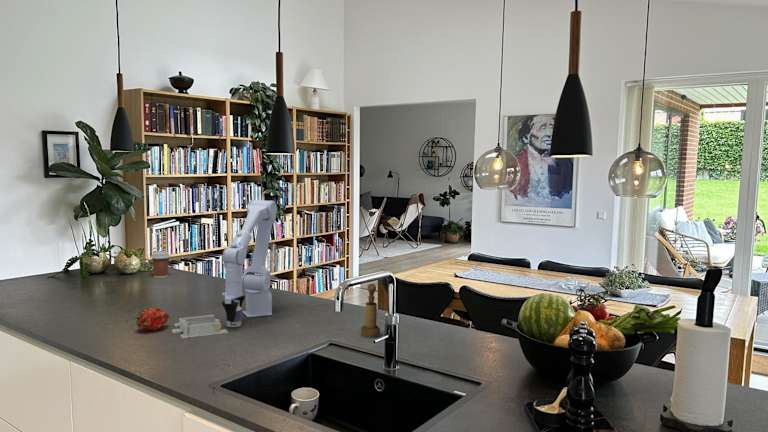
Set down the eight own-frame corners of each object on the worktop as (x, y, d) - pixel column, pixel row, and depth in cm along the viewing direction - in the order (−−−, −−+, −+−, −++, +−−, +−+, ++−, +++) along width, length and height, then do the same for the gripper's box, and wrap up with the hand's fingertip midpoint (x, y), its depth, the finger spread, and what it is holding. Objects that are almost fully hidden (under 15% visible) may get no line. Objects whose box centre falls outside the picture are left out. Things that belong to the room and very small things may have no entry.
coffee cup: (147, 277, 267) (146, 253, 266) (157, 273, 276) (157, 250, 274) (164, 278, 265) (164, 254, 264) (174, 275, 274) (174, 251, 273)
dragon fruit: (132, 338, 182) (165, 334, 191) (146, 327, 178) (178, 324, 187) (127, 314, 185) (159, 312, 195) (140, 303, 181) (172, 302, 191)
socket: (217, 320, 199) (217, 312, 199) (228, 332, 185) (228, 324, 185) (169, 325, 191) (169, 317, 191) (175, 339, 177) (175, 330, 177)
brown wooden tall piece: (365, 338, 184) (367, 286, 182) (357, 333, 190) (359, 282, 188) (383, 336, 187) (384, 285, 185) (374, 331, 193) (376, 281, 191)
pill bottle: (244, 324, 196) (244, 300, 195) (235, 328, 191) (235, 303, 190) (231, 322, 197) (231, 298, 197) (222, 326, 192) (222, 301, 192)
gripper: (228, 276, 200) (228, 312, 201) (216, 285, 185) (215, 324, 187) (247, 277, 200) (247, 313, 201) (236, 286, 185) (236, 324, 187)
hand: (233, 318), depth 194 cm, fingers open, 5 cm apart
